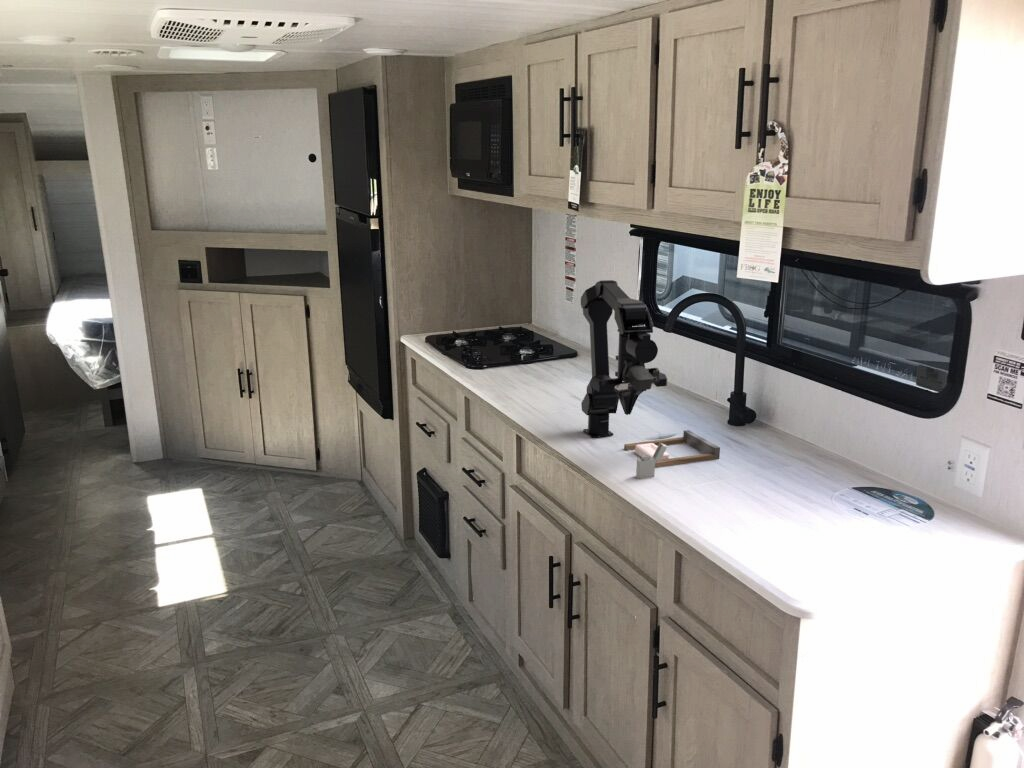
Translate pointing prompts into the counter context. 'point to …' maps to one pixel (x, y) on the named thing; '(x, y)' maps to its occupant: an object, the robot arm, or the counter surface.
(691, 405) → the counter surface
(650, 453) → the soap bar
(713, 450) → the guide channel
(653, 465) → the lighter
